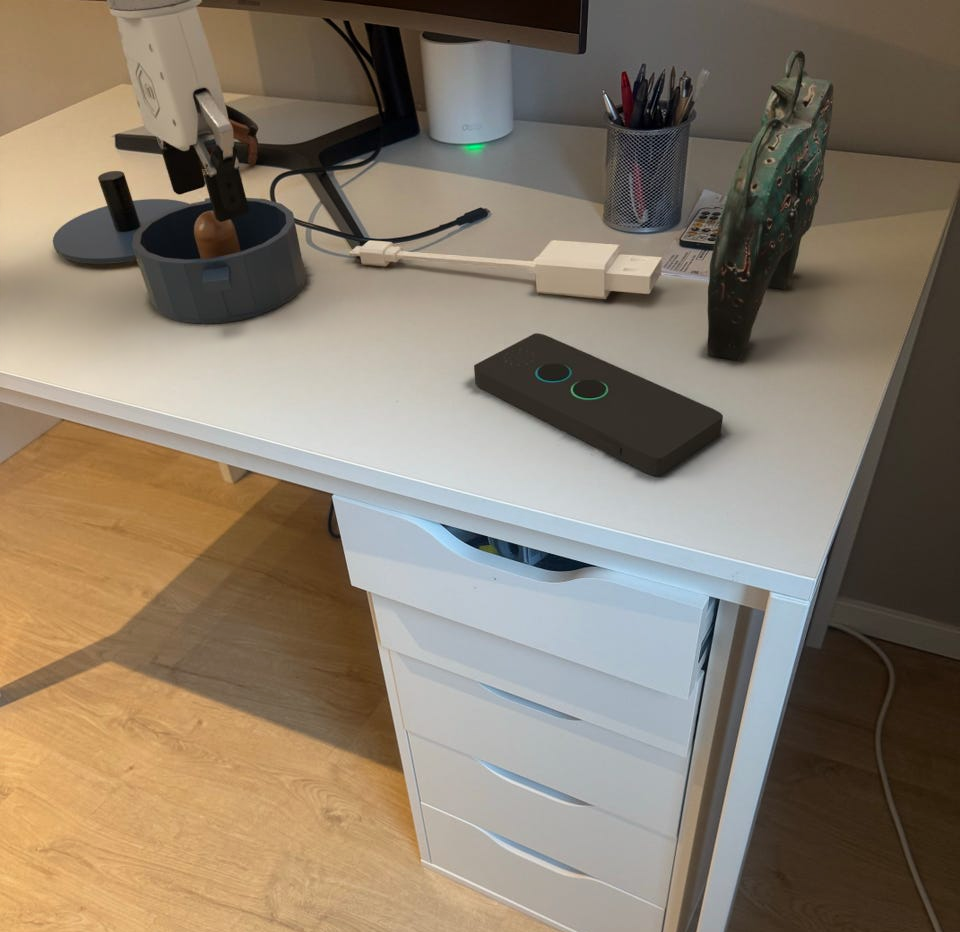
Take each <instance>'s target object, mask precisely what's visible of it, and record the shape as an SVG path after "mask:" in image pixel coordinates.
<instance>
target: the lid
mask: <svg viewBox="0 0 960 932" xmlns="http://www.w3.org/2000/svg"><path fill="white" fill-rule="evenodd" d="M97 180H98V183H99V185H100V188H101V191H102V194H103V197H104V200H105V203H106V205H105V206H102V207H99V208H98V207H97V208H95V209H92V210H90V211H87V212H85V213H82V214H79V215H78V216H76V217H74V218H72V219H71V220H69V221H66V222H65V223H64V224H63V225H62V226H60V227H59V228H58V229H57V230H56V232H55V233H54V235H53V237H52V245H53V248H54V250H55V253H57V254H58V255H59V256H60V257H62V258H64V259H66V260H69V261H72V262H75V263H82V264H91V265H92V264H93V265H106V264H119V263H127V262H133V261H137V259H136V256H135V253H134V250H133V247H132V242H133V236H134V233H135V232H136V231H137V230H138V229H139V228H140V227H141V226H142V225H143V224H144V223H146V222H147V221H149V220H151V219H153V218H155V217H157V216H158V215H160V214H162V213H164V212H166V211H169V210H172V209H175V208H178V207H181V206H184V205H187V204H190V203H188V202H185V201H181V200H176V199H169V198H164V199H163V198H147V199H145V198H144V199H136V200H134V199H133V197H132V193H131V191H130V187H129V185H128V184H129V183H128V181H127V178H126V175H125V172H123V171H120V170H111V171H106V172H103V173H101V174H99V175H98V176H97Z"/></svg>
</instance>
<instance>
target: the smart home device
mask: <svg viewBox="0 0 960 932" xmlns="http://www.w3.org/2000/svg"><path fill="white" fill-rule="evenodd" d="M473 371H474V383H475V385H476V386H477V387H478V388H480V389H481V390H484V391H485V392H487V393H489V394H491V395H493V396H495V397H497V398H499V399H501V400H502V401H505V402H507V403H509V404H510V405H512V406H514V407H517V408H519V409H520V410H522V411H524V412H526V413H528V414H530V415H532V416H534V417H536V418H538V419H540V420H542V421H543V422H546V423H548V424H549V425H552V426H553V427H555V428H557V429H560V430H562V431H563V432H564V433H567V434H569V435H571V436H573V437H575V438H577V439H579V440H580V441H583V442H585V443H587V444H588V445H591V446H592V447H594V448H597V449H599V450H600V451H603V452H604V453H606V454H608V455H610V456H612V457H614V458H616V459H617V460H620V461H621V462H623V463H626V464H628V465H630V466H632V467H634V468H636V469H638V470H639V471H641V472H643V473H646V474H648V475H651V476H655V477H659V476H660V477H661V476H662V475H664V474H665V473H667V472H668V471H669V470H671V469H673V468H674V467H676V466H677V465H679V464H680V463H682V462H683V461H684V460H686V459H687V458H688V457H690V456H691V455H693V454H694V453H696V452H697V451H699V450H700V449H701V448H704V446H706V445H708V444H709V443H711V442H712V441H714V440H715V439H716V438H719V436H720V435H721V434H722V426H723V420H724V419H723V418H724V415H723V414H722V413H721V412H720V411H719V410H716V409H714V408H712V407H710V406H709V405H705V404H703V403H701V402H698V401H697V400H693V398H689V397H687V396H685V395H682V394H681V393H678V392H676V391H673V390H671V389H669V388H667V387H665V386H662V385H660V384H657V383H656V382H653V381H651V380H648V379H646V378H644V377H642V376H639V375H637V374H635V373H632V372H630V371H629V370H626V369H623V368H622V367H619V366H617V365H615V364H612V363H610V362H608V361H606V360H603V359H601V358H599V357H597V356H594V355H591V354H590V353H588V352H585V351H583V350H581V349H578V348H576V347H575V346H572V345H569V344H567V343H565V342H563V341H561V340H558V339H556V338H553V337H552V336H549V335H546V334H543V333H538V332H536V333H533V334H531V335H529V336H527V337H525V338H523V339H521V340H520V341H517V342H515V343H514V344H512V345H511V344H510V345H509V346H507V347H505V348H504V349H502V350H500V351H498V352H496V353H494V354H492V355H491V356H489V357H487V358H485V359H483V360H481V361H479V362H477V363H475V364H474V365H473Z"/></svg>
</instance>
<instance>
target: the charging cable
mask: <svg viewBox="0 0 960 932" xmlns="http://www.w3.org/2000/svg"><path fill="white" fill-rule="evenodd" d="M348 255H349V256H351V257H359V259H360V262H361V265H367V266H375V267H376V266H377V267H387V266H388V265H390V263H397V262H399V261H400V260H407V261H422V262H433V263H444V264H446V263H447V264H457V265H469V266H479V267H480V266H481V267H493V268H504V269H505V268H507V269H518V270H519V269H520V270H521V269H522V270H528V271H529V272H530V275H532V276H535V284H536V287H535V288H536V292H537V293H538V294H544V295H545V294H546V295H555V296H566V297H575V298H576V297H577V298H589V299H598V300H600V299H601V300H606V299H607V298H608V296H609V295H610V294H611V292H623V293H631V294H642V295H643V294H644V295H650V294H651V292H652V290H653V289H654V287H655V286H656V284H657V282H658V280H659V279H660V277H662V266H663V257H662V256H648V255H637V254H636V255H635V254H634V255H633V254H623V253H622V254H621V246H620V244H614V243H613V244H612V243H598V242H585V241H584V242H583V241H570V240H556V239H555V240H553V239H551V241H550V242H549V243H548V244H547V245H546V246H545V248H543V250H542V251H541V253H540V254H539V255H538V256H535V258H534V259H533V260H532V261H531V260H520V259H506V258H496V257H495V258H494V257H480V256H467V255H455V254H443V253H431V252H417V251H406V250H403V247H402V246H395V243H393V242H392V241H385V240H384V241H383V240H368V241H367V242H365V243H364V244H363V245H356V246H355V247H354V248H353V249H352V250H350V251H349V252H348Z"/></svg>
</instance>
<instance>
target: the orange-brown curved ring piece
mask: <svg viewBox="0 0 960 932" xmlns="http://www.w3.org/2000/svg"><path fill="white" fill-rule="evenodd" d="M225 105H226V109H227V114H228V119H229V122H230V123H231V125H232V127H233V133H234V140H237V141H238V142H239V143H242V144H246V145H247V150H248V152H247V163H248V164H249V165H250V166H255V165H256V162H257V160H258V153H257V148H258V145H259V146H260V143H259V140H258V137H257V134H258V131H259V126H258V124H257V123H256V122H255V121H253V119H251V117H249V116H248V115H246V114H244V113H242V112H241V111H239V110H237V109H235V108H234V107H232V106H229V105H227V104H225ZM206 134H209V133H204V134H201V135H198V137H199V136H202V135H206ZM206 149H207V151H208V153H209V155H210V157H211V156H212V150H213V146H211V147H208V148H206ZM256 154H257V156H256ZM197 155H198V154H197ZM198 158H199V156H198ZM199 162H200V166H201V169H202V171H206V169H205V167H204V165H203V163H202V161H201V160H200V158H199Z"/></svg>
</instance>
